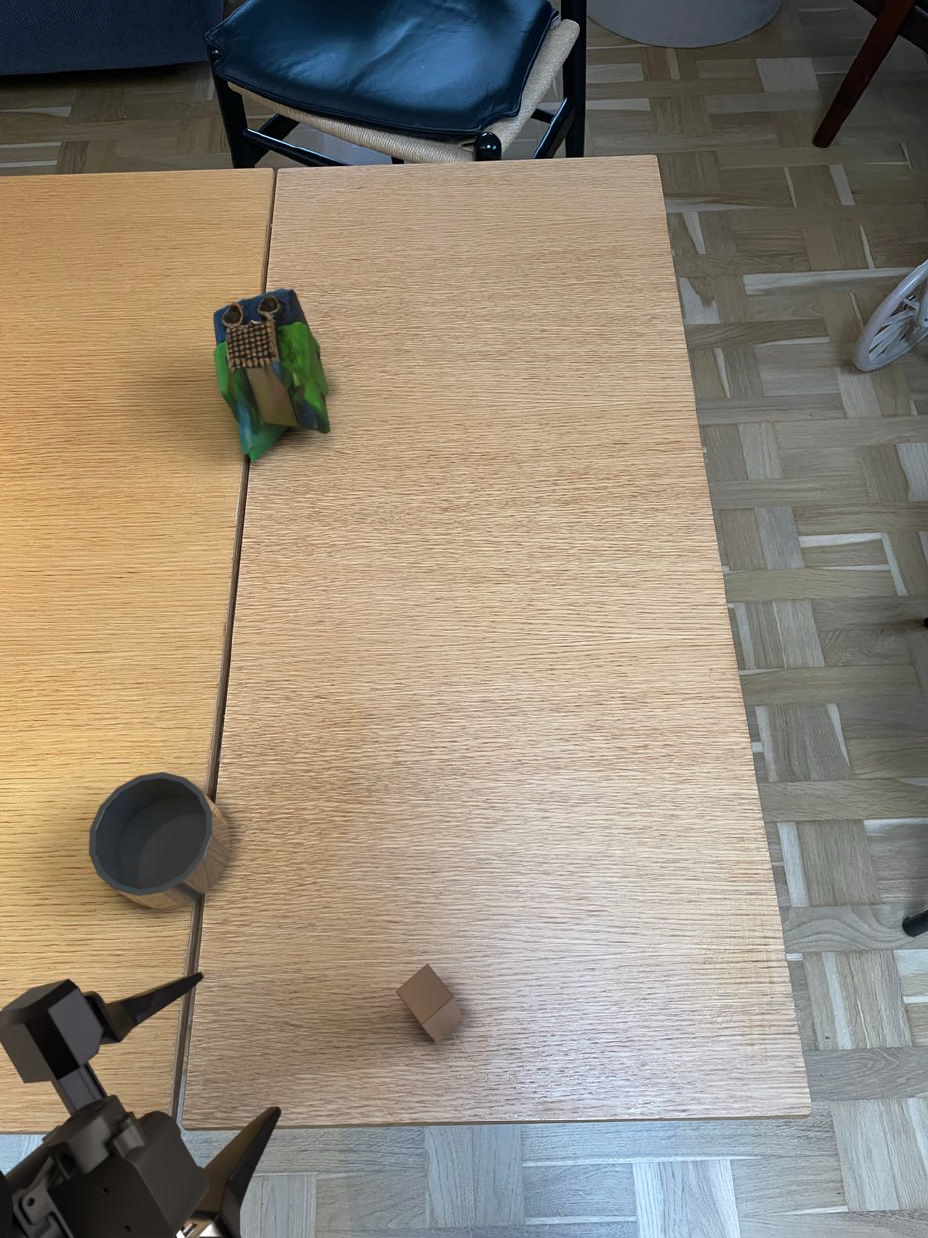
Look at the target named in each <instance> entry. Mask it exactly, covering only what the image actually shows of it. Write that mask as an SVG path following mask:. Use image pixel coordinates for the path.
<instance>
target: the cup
mask: <svg viewBox="0 0 928 1238" xmlns="http://www.w3.org/2000/svg"><path fill="white" fill-rule="evenodd" d="M88 841H89V842H88V855H89V858H90V860H91V862H92V865H93V867H94V870H95V872H96V875H97V876H98V877H99V878H100V879H101V880H103V882H105V883H106V884H107V885H108V886H109V887H110V888H112V889H113V890H114V891H116V892H118V893H119V894H120V895H123V896H124V897H126V898H127V899H129V900H131V901H133V902H134V903H136V904H138V905H141V906H143V907H147V908H149V909H150V908H151V909H155V910H173V909H178V908H182V907H185V906H188V905H190V904H191V903H192V904H193V903H194V902H196V901H197V900H199V899H200V898H203V896H205V894H207V893H208V892H209V891H210V890H211V889H212V888H213V887H214V886H215V885H216V883H217V882H218V881H219V880H220V878H221V876H222V875H223V873H224V871H225V869H226V866H227V864H228V860H229V857H230V851H231V834H230V830H229V826H228V824H227V821H226V819H225V817H224V816H223V814H222V813H221V810H220V809H219V807H218V806H217V805H216V804H215V803H214V802H213V801H212V799H210V798H209V796H207V794H206V793H205V792H204V791H203V790H202V789H200V787H198V786H197V785H196V784H195V783H193V782H191V780H190V779H188V778H187V777H186V776H181V775H177V774H175V773H169V772H165V771H161V772H153V773H147V774H140V775H138V776H136V777H134V778H132V779H130V780H129V781H126V782H124V783H123V784H121V785H119V786H118V787H116V788H115V789H114V790H113V791H112V792H111V794H109V796H107V798H105V800H104V801H103V802H102V803H101V804H100V805H99V807H98V810H97V812H96V813H95V817H94V818H93V821H92V823H91V826H90V828H89V839H88Z"/></svg>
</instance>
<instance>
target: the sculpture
mask: <svg viewBox="0 0 928 1238" xmlns="http://www.w3.org/2000/svg"><path fill="white" fill-rule="evenodd" d="M212 315H213V320H212V321H213V329H214V337H215V349H214V350H213V359H214V368H215V375H216V380H217V389H218V393H219V394H220V396H222V398H223V400H224V401H225V403H226V404H227V406H228V407H229V409H230V411H231V412H232V415H233V417H234V420H235V421H236V427H237V429H238V434H239V435H238V436H239V442H240V446H241V450H242V452H243V453H244V455H245V456H246V455H247V456H248V457H249V459H250V461H251V464H253V463H254V462H255V460H257V459H258V458H259V457H260V456H261V455H263V454H264V453H265V452H267V451H268V450H269V449H270V448H271V447H272V446H274V444H275V443H276V442H277V440H279V438H281V436H282V435H283V434H284V432H285V431H286V430H287V429H288V427H292V428H296V429H302V430H303V429H304V430H309V431H315V432H317V433H322V434H324V435H327V434H329V433H330V432H331V422H330V419H329V410H328V407H327V402H326V401H327V400H326V399H327V398H326V396H327V393H329V386H328V382H327V378H326V375H325V370H324V365H323V363H322V359H321V345H320V344H319V342H318V340H317V339H316V338H315V337H314V334H313V333H312V330H311V328H310V325H309V323H308V320H307V318H306V315H305V313H304V310H303V308H302V306H301V303H300V300H299V298H298V294H297V293H296V291H295V290H294V289H293V288H289V289H286V288H283V287H281V288H278V289H276V290H271V291H268V292H264V293H261V294H259V295H255V296H252V297H250V298H245V297H243V298H242V299H240V300H238V301H233V302H232V303H230V304H226V305H224V306H223V307H221V308H219V309H217V310H215V312H213V314H212Z"/></svg>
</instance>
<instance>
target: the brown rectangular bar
mask: <svg viewBox="0 0 928 1238" xmlns="http://www.w3.org/2000/svg"><path fill="white" fill-rule="evenodd" d="M395 993H396V995H397V996H398V997H399V999H400V1001H402V1002H403V1004H404V1005H405V1006H406V1008H407V1009H408V1010H409V1012H410V1013H411V1014H412V1016H413V1017H414V1019H416V1021H417V1022H418V1023H419V1025H420V1026H421V1027H422V1028H423V1029H424V1030H425V1032H426V1033H427V1034H428V1035H429V1037H430V1038H431V1039H432V1040H434V1042H435V1043H438V1042H440V1040H442V1039H443V1038H444V1037H445V1036H446V1035H447V1034H448V1033H449V1032H450V1031H452V1030H453V1029H454V1028H455V1027H456V1026H457V1025H458V1024H459V1023H461V1021H463V1020H464V1016H463V1014H462V1011H461V1009H460V1007H459V1005H458V1003H457V1001H456V999H455V996H454V994H452V992H451V991H450V989H448V987H447V986H446V984H445V983H444V982H443V981H442V980H441V978H440V977H439V976H438V974H437V973H436V972H435V971H434V969H433V968H432V967H431V965H430V964H429V963H426V964H425V965H424V966H423V967H421V969H419V970H418V971H416V972H415V974H413V975H412V976H411V977H410V978H409V979H408V980H406V981H405V982H404V983H403V984H402V985H401V986H400V987H399V988H397V990H395Z"/></svg>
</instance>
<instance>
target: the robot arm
mask: <svg viewBox="0 0 928 1238" xmlns="http://www.w3.org/2000/svg"><path fill="white" fill-rule="evenodd" d="M204 978H205V976H204V973H203V972H202V971H196V972H193V973H190V974H187V975H185V976H182V977H179V978H175V979H173V980H171V981H168V982H165V983H163V984H160V985H158V986H154V987H151V988H149V989H146V990H144V991H140V992H138V993H136V994H133V995H129V996H126V997H124V998H121V999H118V1000H114V1001H110V1002H105V1000H104V999H103V997H102V996H101V994H99V993H98V992H97V991H94V990H89V991H84V992H82V990H81V988H80V987H79V985H77V984H76V983H75V982H74V981H73V980H71V979H70V978H66V979H65V978H64V979H62V980H57V981H53V982H50V983H46V984H41V985H37V986H33V987H30V988H29V989H28V990H27V991H25V992H23V993H22V994H21V995H19V996H18V997H16V998H15V999H13V1000H12V1001H10V1002H9V1003H7V1004H6V1005H5V1006H3V1008H2V1009H1V1010H0V1044H1V1046H2V1048H3V1050H4V1051H5V1053H6V1055H7V1057H8V1058H9V1060H10V1062H11V1063H12V1065H13V1067H14V1069H15V1070H16V1072H17V1073H18V1076H19V1077H20V1079H21V1081H22V1083H23V1084H36V1083H37V1084H38V1083H47V1082H50V1083H51V1085H52V1087H53V1088H54V1090H55V1093H57V1095H58V1097H59V1099H60V1101H61V1102H62V1103H63V1106H64V1107H65V1109H66V1110H67V1113H68V1114H69V1117H68V1118H67V1119H66V1120H65V1121H64V1122H63V1123H62V1124H58V1125H56V1126H55V1127H54V1128H53V1129H51V1130H50V1131H49V1132H48V1133H47V1134H45V1135H44V1136H43V1137H42V1138H41V1141H42V1143H41V1144H39V1145H38V1146H37V1147H36V1148H35V1149H34V1150H33V1151H31V1152H30V1153H29V1154H28V1155H26V1156H25V1157H24V1158H23V1159H21V1161H19V1162H18V1163H17V1164H16V1165H15V1166H13V1167H12V1168H11V1169H10V1170H9V1171H7V1172H6V1173H5V1174H4V1173H3V1171H2V1170H1V1169H0V1238H242V1235H241V1209H242V1206H243V1204H244V1200H245V1196H246V1195H247V1191H248V1188H249V1186H250V1183H251V1180H252V1178H253V1176H254V1173H255V1171H256V1169H257V1167H258V1165H259V1163H260V1160H261V1158H262V1156H263V1154H264V1152H265V1150H266V1148H267V1145H268V1143H269V1141H270V1139H271V1137H272V1135H273V1133H274V1131H275V1128H276V1126H277V1124H278V1121H279V1120H280V1117H281V1116H282V1112H283V1111H282V1109H281V1107H280V1106H279V1105H272V1106H268V1107H267V1108H266V1109H265V1110H263V1112H261V1113H260V1114H258V1115H257V1116H256V1117H255V1118H254V1119H252V1120H251V1121H250V1122H249V1123H247V1124H246V1125H245V1127H243V1128H242V1129H241V1130H240V1131H239V1133H237V1134H236V1135H235V1136H234V1137H233V1138H232V1140H230V1142H228V1144H226V1145H225V1147H223V1149H221V1150H220V1151H219V1152H218V1153H217V1154H216V1155H215V1156H214V1157H213V1159H212V1160H210V1161H209V1162H208V1163H207V1164H206V1165H205V1166H204V1167H202V1166H200V1165H198V1164H197V1162H196V1161H195V1159H194V1157H193V1156H192V1154H191V1152H190V1151H189V1149H188V1147H187V1145H186V1144H185V1141H184V1140H183V1139H182V1130H181V1128H180V1126H179V1124H178V1122H177V1121H176V1120H175V1118H173V1117H172V1116H171V1115H170V1114H169V1113H166V1112H164V1111H161V1110H153V1111H149V1112H147V1113H145V1114H143V1115H142V1116H140V1117H138V1118H137V1117H136V1114H135V1112H134V1111H132V1110H131V1111H126V1110H127V1109H125V1107H124V1104H123V1103H122V1102H121V1100H120V1098H119V1097H118V1095H117V1094H111V1095H108V1093H107V1091H106V1089H105V1088H104V1086H103V1085H102V1083H101V1081H100V1079H99V1077H98V1076H97V1074H96V1072H95V1070H94V1069H93V1067H92V1065H91V1064H90V1063H89V1061H91V1060H92V1059H93V1058H95V1056H98V1054H99V1052H100V1048H101V1046H107V1045H112V1044H113V1045H114V1044H120V1043H121V1042H123V1040H124V1039H125V1038H127V1036H128V1035H129V1034H130V1033H131V1032H132V1031H133V1030H134V1029H135V1028H136V1027H138V1026H139V1025H140V1024H142V1023H144V1022H146V1021H147V1020H148V1019H150V1018H152V1017H153V1016H154V1015H156V1014H157V1013H159V1012H160V1011H162V1010H163V1009H165V1008H166V1007H168V1006H169V1005H171V1004H173V1003H174V1002H176V1001H177V1000H179V999H181V998H182V997H183V996H185V995H186V994H188V993H189V992H190V991H191V990H192V989H194V988H195V986H197V985H198V984H200V982H201V981H202V980H204Z"/></svg>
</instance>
